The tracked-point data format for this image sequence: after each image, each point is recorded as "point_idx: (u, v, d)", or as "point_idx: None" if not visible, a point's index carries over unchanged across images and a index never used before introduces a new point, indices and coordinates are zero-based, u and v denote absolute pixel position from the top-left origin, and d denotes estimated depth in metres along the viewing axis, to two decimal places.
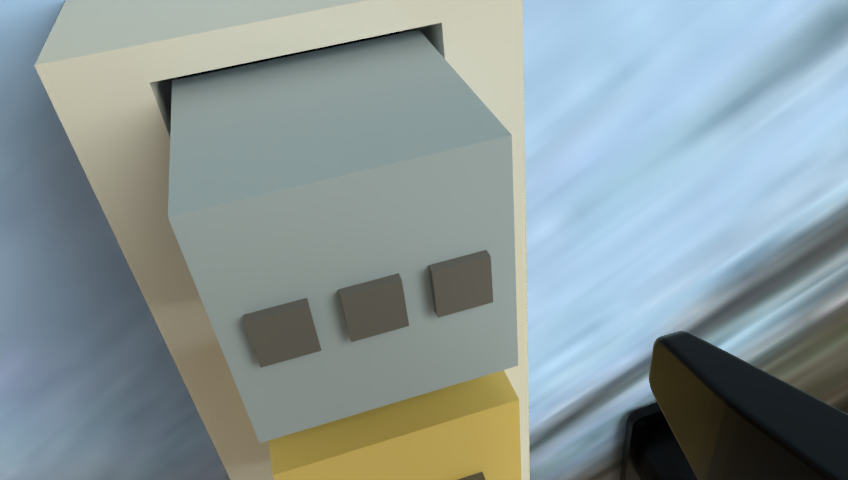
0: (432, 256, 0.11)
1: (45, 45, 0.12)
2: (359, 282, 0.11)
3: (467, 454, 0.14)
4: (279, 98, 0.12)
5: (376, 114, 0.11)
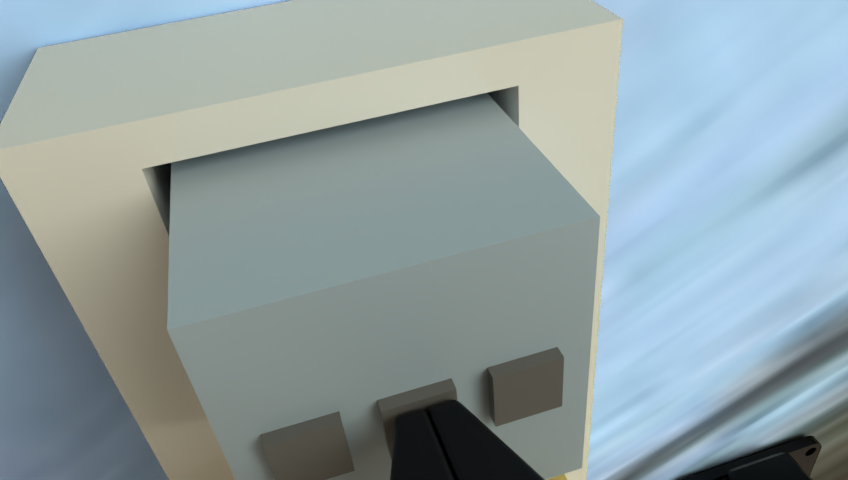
0: (493, 357, 0.09)
1: (6, 119, 0.09)
2: (403, 390, 0.09)
3: None
4: (302, 156, 0.10)
5: (424, 181, 0.09)
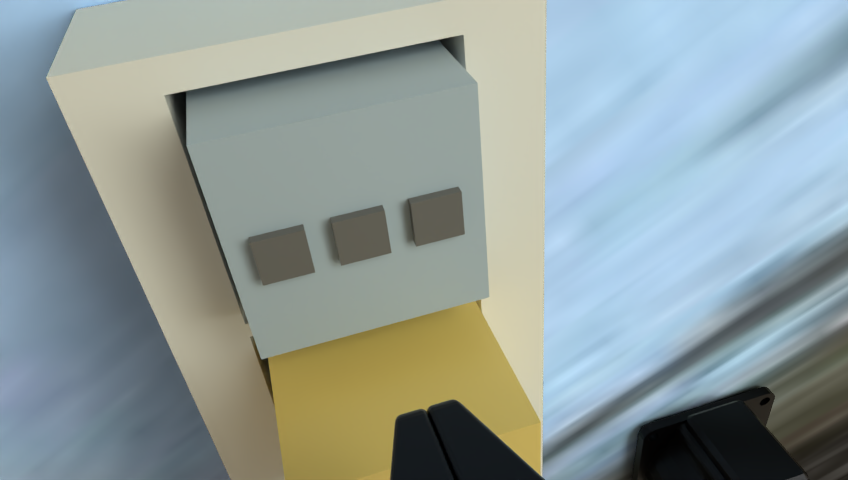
0: (411, 190, 0.13)
1: (57, 56, 0.12)
2: (348, 211, 0.13)
3: None
4: None
5: (363, 69, 0.13)
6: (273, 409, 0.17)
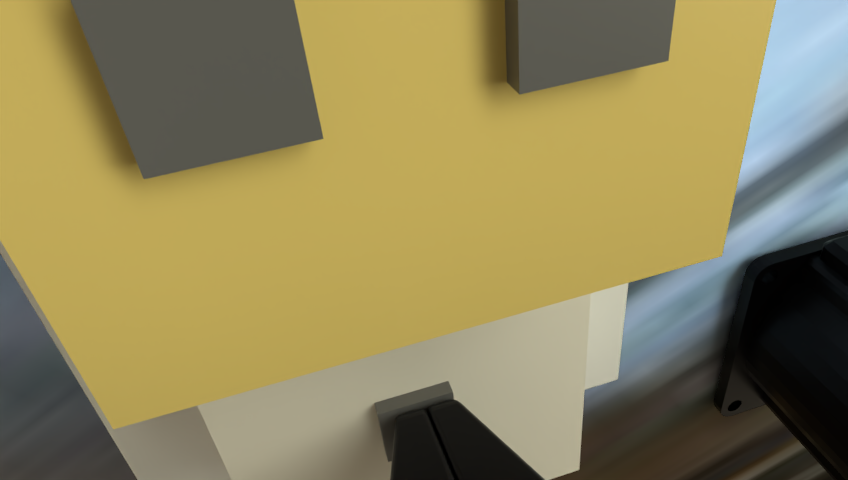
0: None
1: None
2: None
3: None
4: None
5: None
6: None
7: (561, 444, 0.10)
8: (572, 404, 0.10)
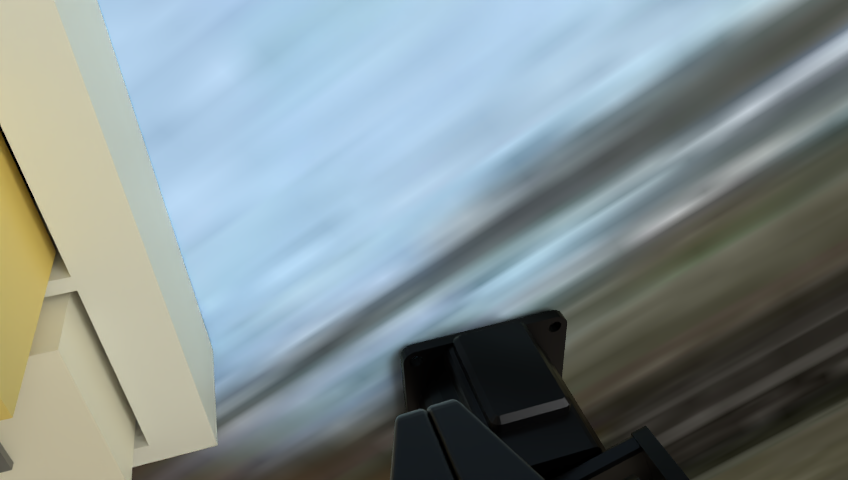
0: None
1: None
2: None
3: None
4: None
5: None
6: None
7: (105, 473, 0.17)
8: (100, 449, 0.16)
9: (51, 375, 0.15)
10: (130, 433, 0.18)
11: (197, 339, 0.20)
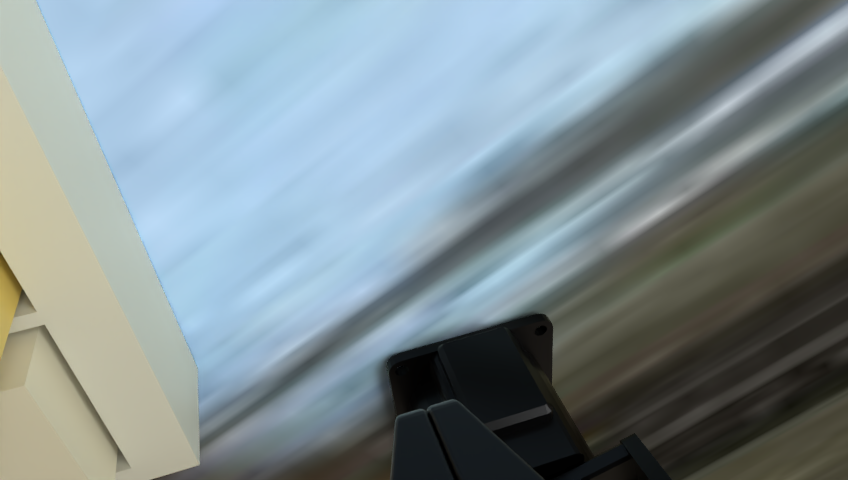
0: None
1: None
2: None
3: None
4: None
5: None
6: None
7: None
8: (77, 477, 0.16)
9: (20, 409, 0.15)
10: (111, 457, 0.19)
11: (176, 361, 0.20)
